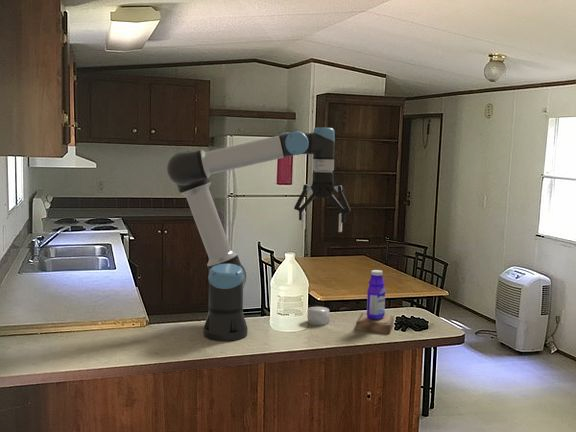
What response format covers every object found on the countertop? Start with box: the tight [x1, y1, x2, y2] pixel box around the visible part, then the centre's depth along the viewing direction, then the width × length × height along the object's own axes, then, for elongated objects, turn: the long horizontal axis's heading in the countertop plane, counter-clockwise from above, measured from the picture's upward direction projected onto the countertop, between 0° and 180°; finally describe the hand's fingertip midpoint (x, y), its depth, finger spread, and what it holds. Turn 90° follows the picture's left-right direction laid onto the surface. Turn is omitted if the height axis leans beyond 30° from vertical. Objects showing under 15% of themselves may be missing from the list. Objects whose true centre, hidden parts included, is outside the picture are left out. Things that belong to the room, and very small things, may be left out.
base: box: [355, 312, 395, 334], centre depth 219 cm, size 12×12×3 cm
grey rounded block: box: [307, 306, 330, 326], centre depth 223 cm, size 8×8×5 cm
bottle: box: [366, 269, 386, 320], centre depth 218 cm, size 7×6×17 cm
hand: (321, 230), depth 216 cm, fingers open, 13 cm apart
